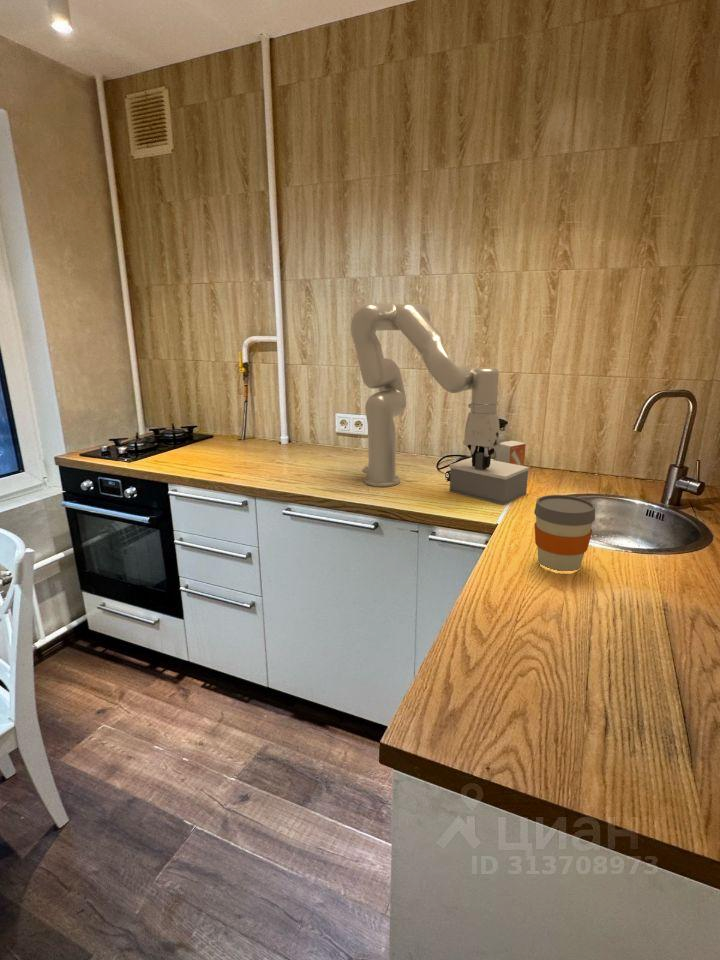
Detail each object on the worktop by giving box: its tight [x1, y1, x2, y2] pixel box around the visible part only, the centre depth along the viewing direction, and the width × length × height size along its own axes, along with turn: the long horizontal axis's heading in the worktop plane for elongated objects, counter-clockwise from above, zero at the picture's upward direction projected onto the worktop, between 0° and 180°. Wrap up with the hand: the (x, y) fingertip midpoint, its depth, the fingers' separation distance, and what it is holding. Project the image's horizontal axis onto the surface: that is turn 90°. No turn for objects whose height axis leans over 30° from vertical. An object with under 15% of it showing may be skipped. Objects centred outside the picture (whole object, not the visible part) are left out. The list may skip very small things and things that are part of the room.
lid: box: [448, 451, 530, 480], centre depth 164 cm, size 20×14×6 cm
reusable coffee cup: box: [533, 494, 596, 571], centre depth 115 cm, size 13×13×15 cm
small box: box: [495, 439, 527, 466], centre depth 181 cm, size 8×6×13 cm
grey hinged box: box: [449, 468, 529, 506], centre depth 167 cm, size 20×14×8 cm
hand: (480, 466), depth 161 cm, fingers closed on lid, 3 cm apart
